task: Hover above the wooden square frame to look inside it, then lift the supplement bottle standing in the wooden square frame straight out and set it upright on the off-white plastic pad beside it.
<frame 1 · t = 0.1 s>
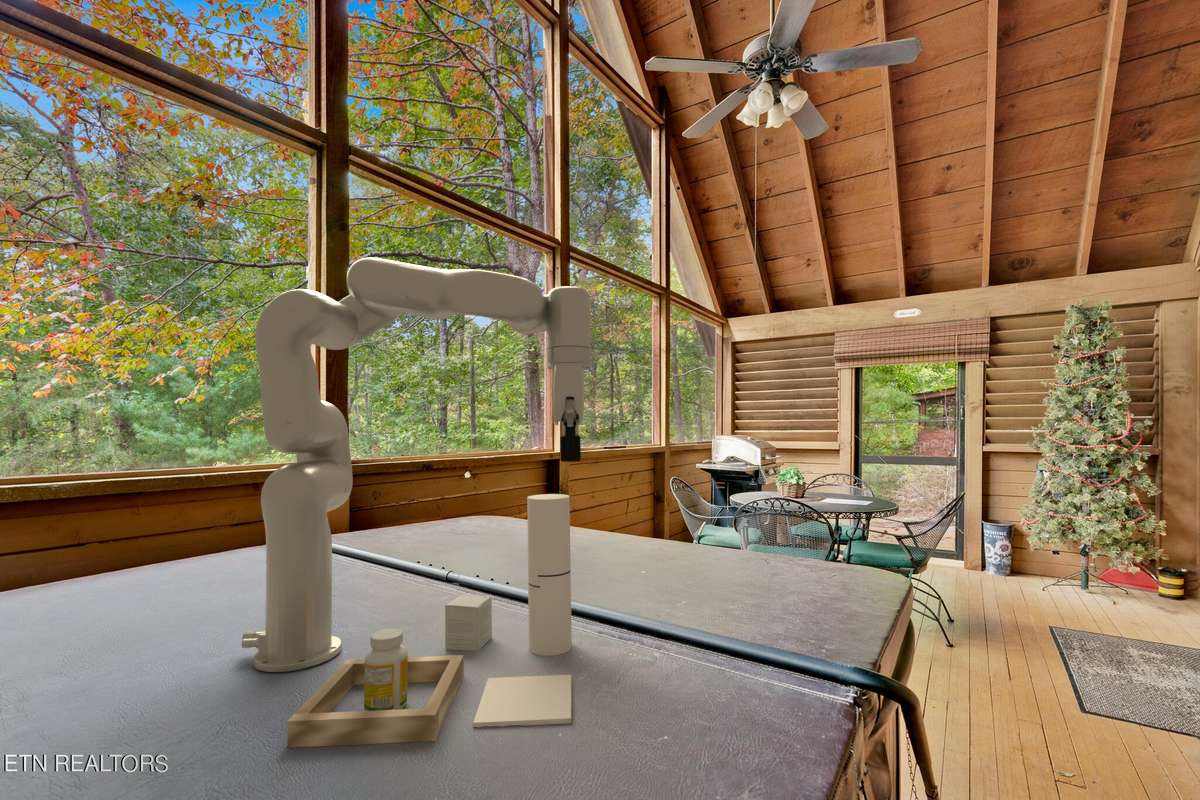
hand: (570, 459, 93), 31 cm above the table, tool pointing down, fingers open, 9 cm apart
cylindrical container: (550, 648, 91), on the table
wooden square frame: (386, 707, 72), on the table
pad: (526, 701, 73), on the table
supplement bottle: (386, 709, 72), resting in wooden square frame
product box: (469, 644, 94), on the table
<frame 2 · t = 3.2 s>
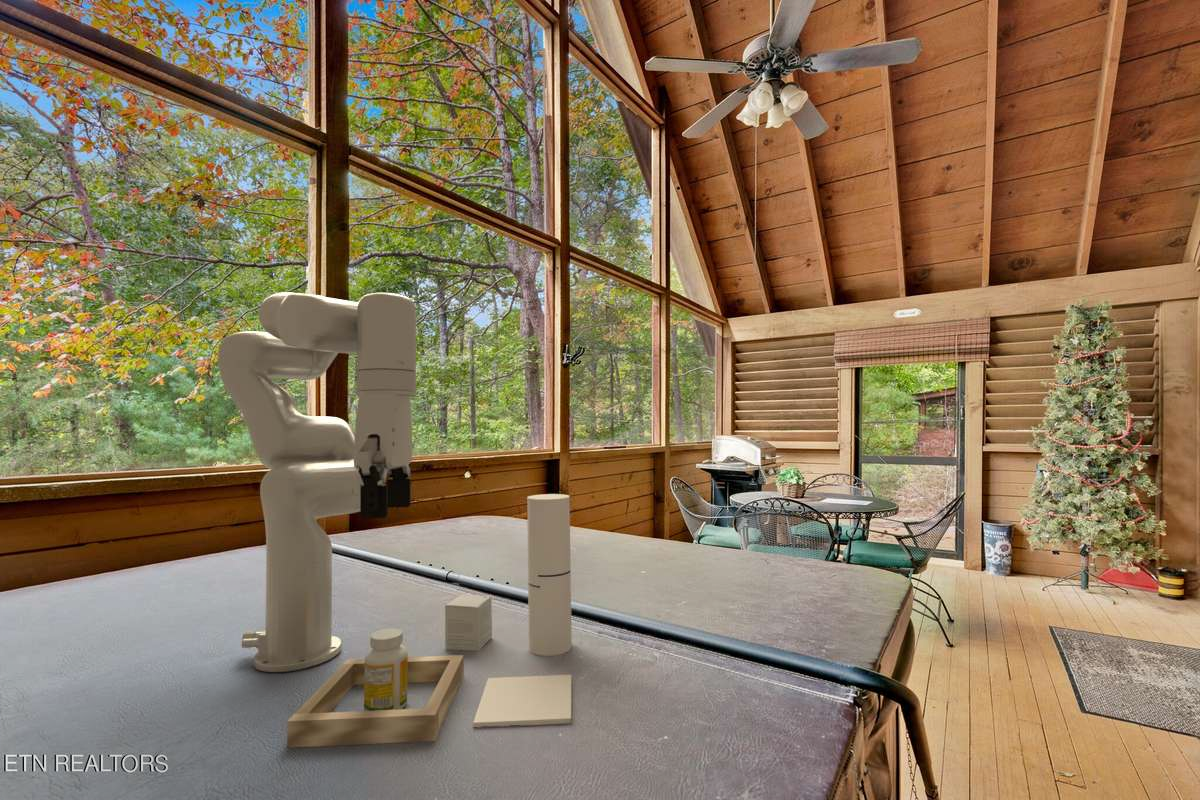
hand: (387, 512, 74), 26 cm above the table, tool pointing down, fingers open, 9 cm apart
nothing on the table moved.
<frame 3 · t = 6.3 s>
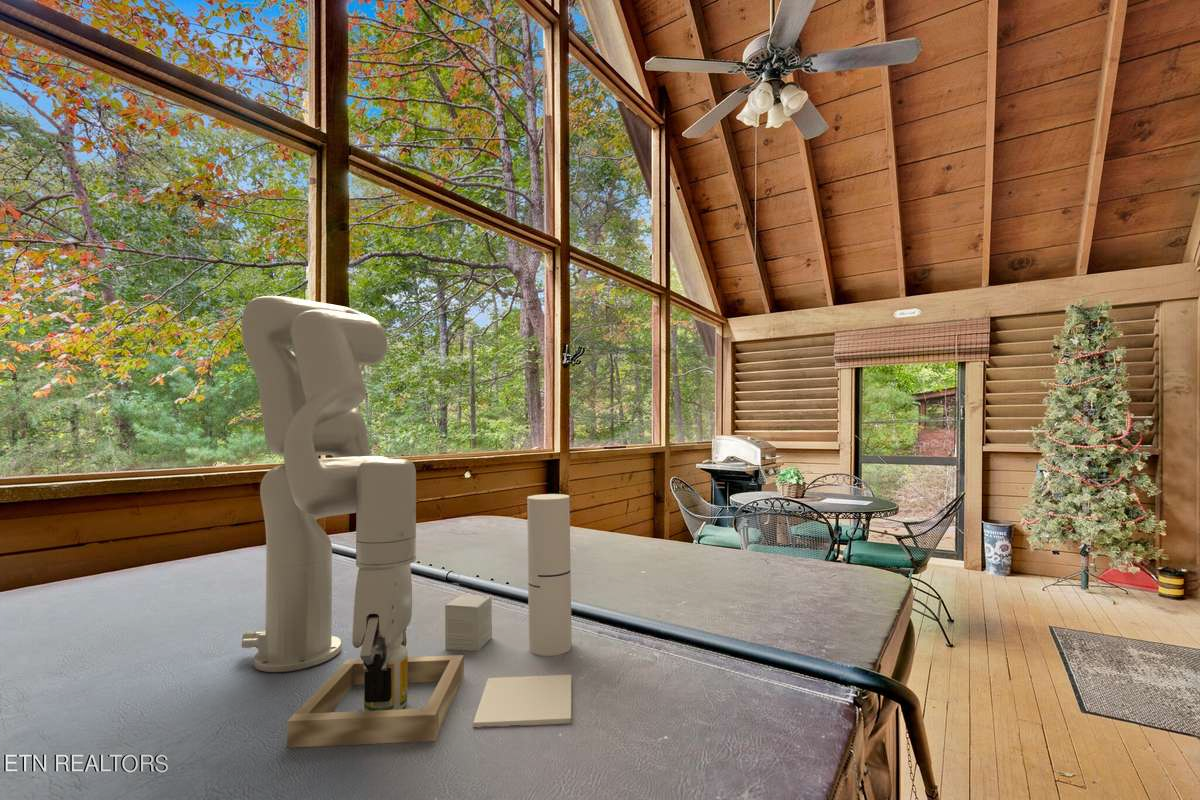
hand: (386, 688, 73), 2 cm above the table, tool pointing down, fingers closed on supplement bottle, 5 cm apart
supplement bottle: (386, 708, 72), resting in wooden square frame, touching gripper
everything else where it was.
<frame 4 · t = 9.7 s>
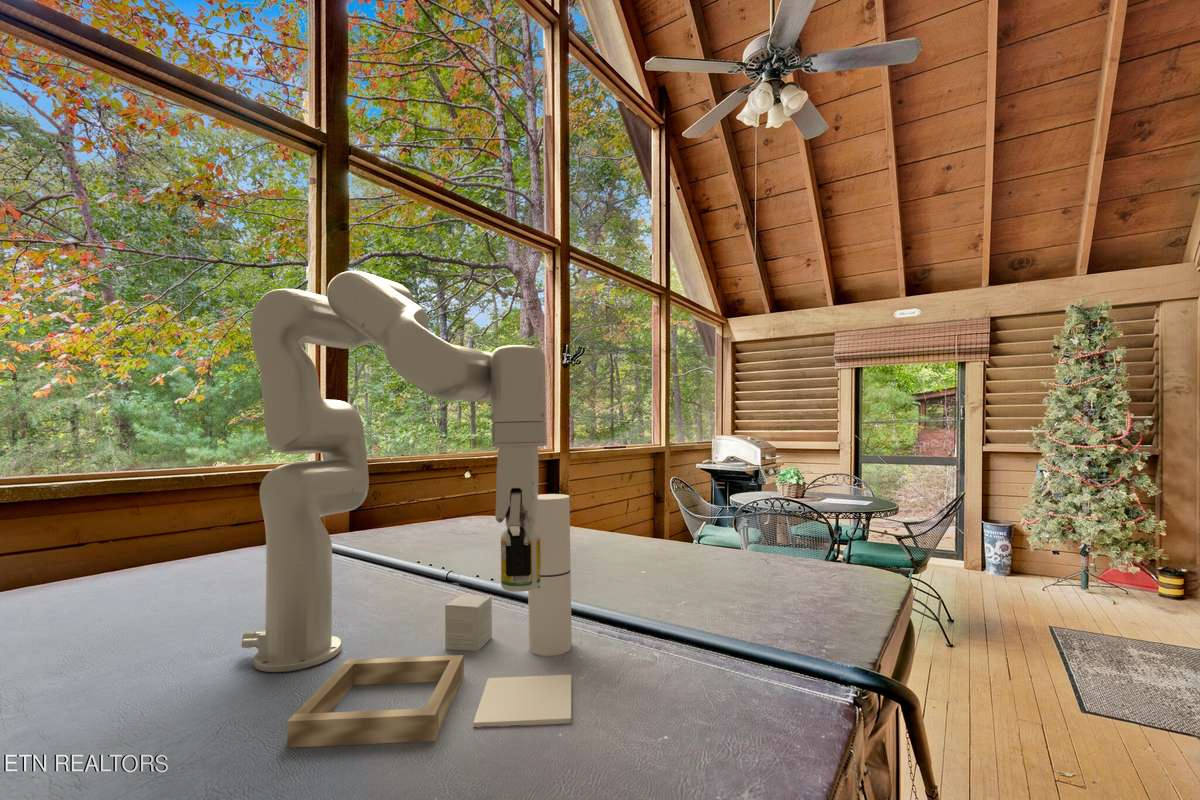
hand: (521, 568, 74), 18 cm above the table, tool pointing down, fingers closed on supplement bottle, 5 cm apart
supplement bottle: (521, 588, 74), point 15 cm above the table, touching gripper
everything else where it was.
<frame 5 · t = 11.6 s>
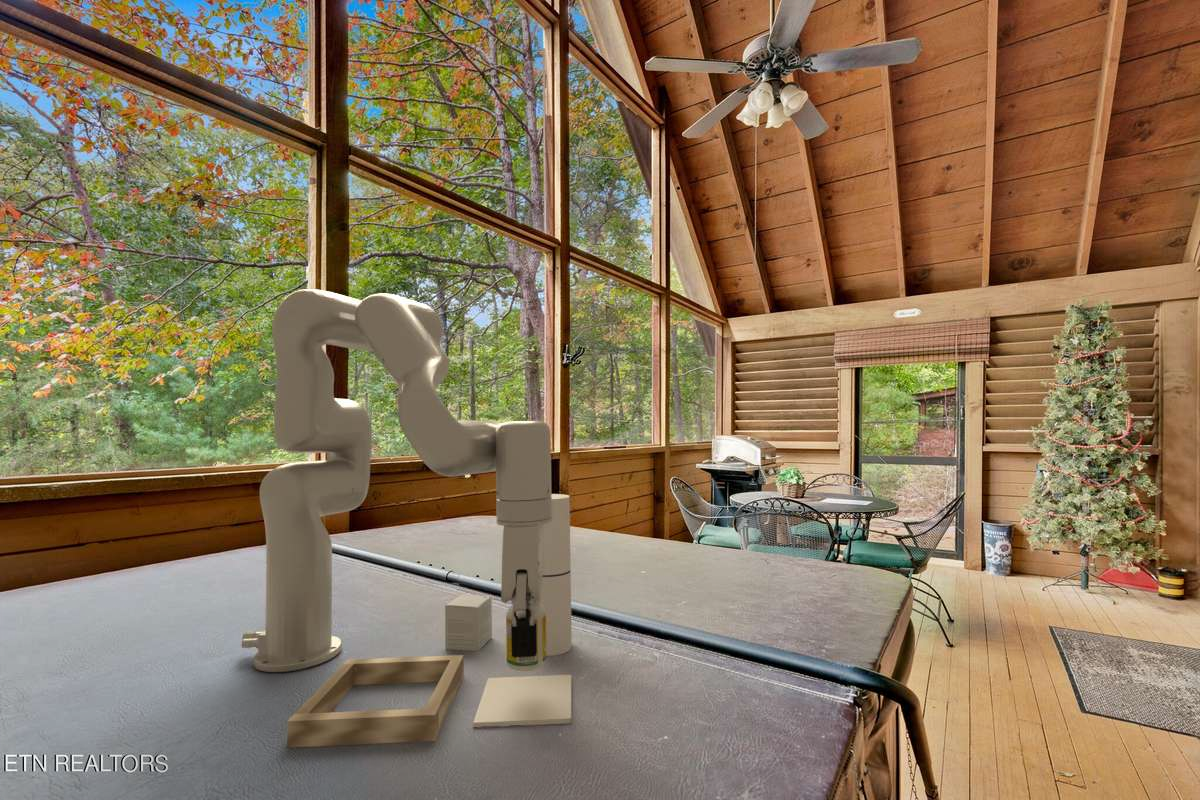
hand: (526, 645, 74), 7 cm above the table, tool pointing down, fingers closed on supplement bottle, 5 cm apart
supplement bottle: (526, 665, 74), point 5 cm above the table, touching gripper
everything else where it was.
when the fingers open (4 cm above the table, at t = 13.1 s): supplement bottle drops 1 cm, resting on pad.
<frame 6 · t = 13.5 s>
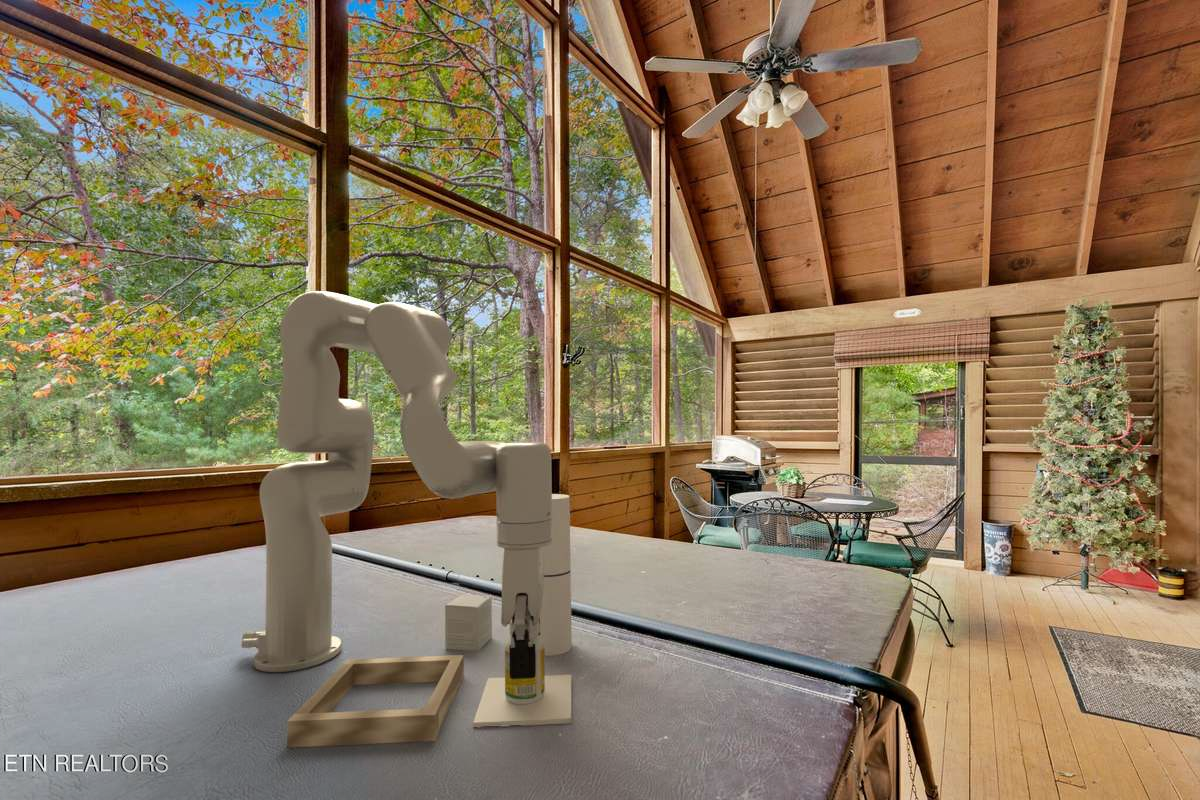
hand: (526, 661, 74), 5 cm above the table, tool pointing down, fingers open, 9 cm apart
supplement bottle: (525, 697, 74), resting on pad
everything else where it was.
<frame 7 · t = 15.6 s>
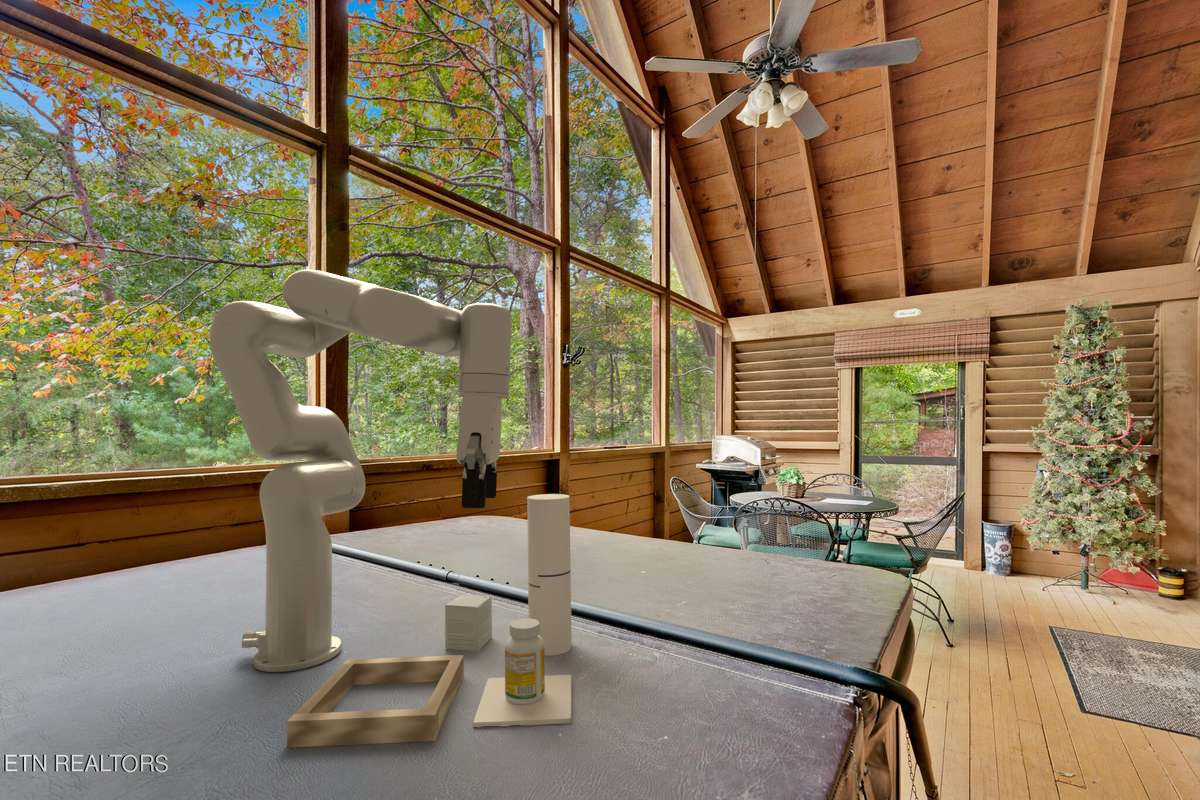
hand: (479, 502, 81), 26 cm above the table, tool pointing down, fingers open, 9 cm apart
nothing on the table moved.
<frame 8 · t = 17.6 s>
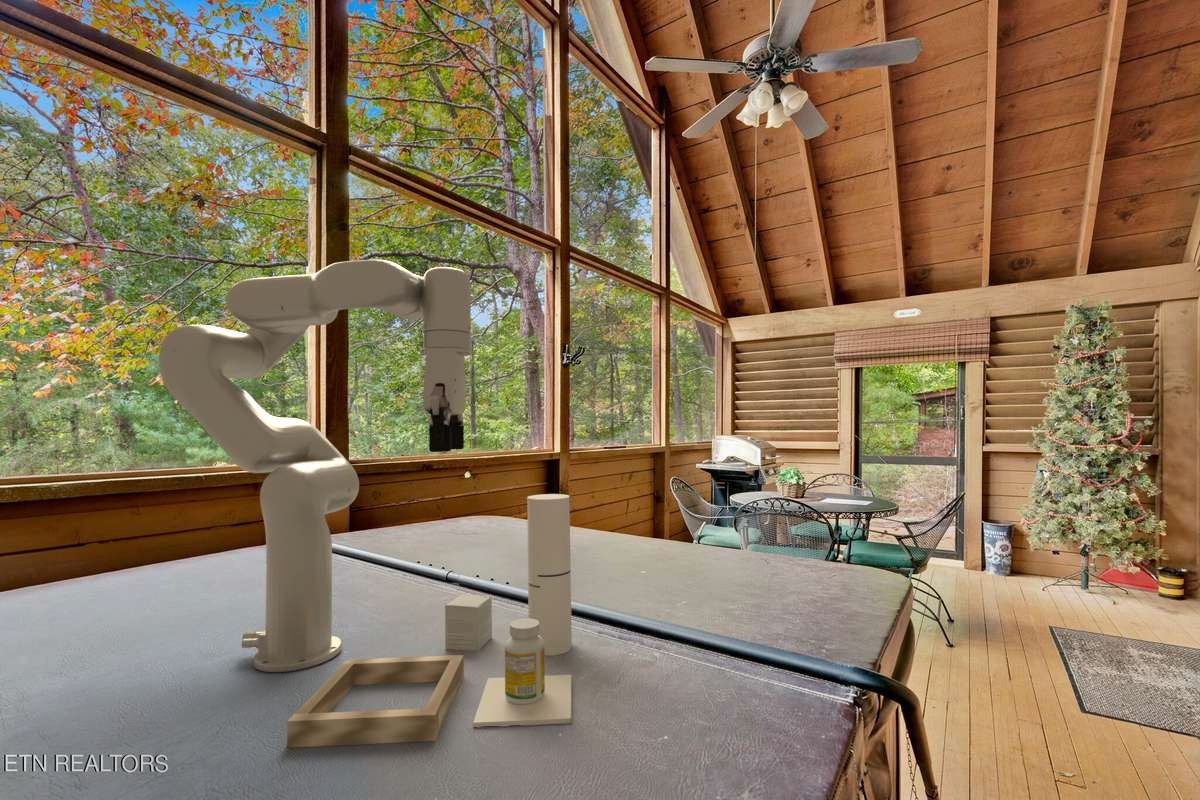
hand: (447, 450, 88), 33 cm above the table, tool pointing down, fingers open, 9 cm apart
nothing on the table moved.
at the end: supplement bottle inside the target area on the pad (0.4 cm from its centre), point 0.4 cm above the pad's base; supplement bottle tilted 0°; the gripper is holding nothing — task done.
